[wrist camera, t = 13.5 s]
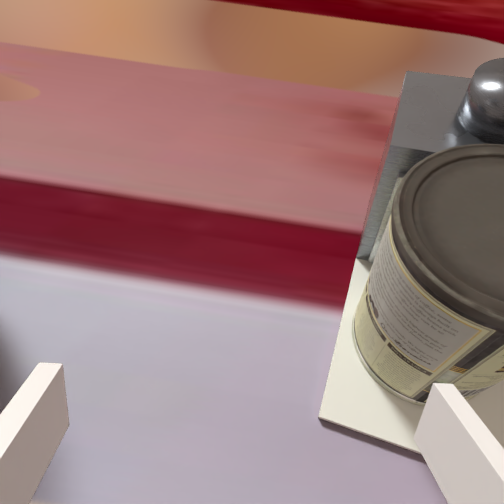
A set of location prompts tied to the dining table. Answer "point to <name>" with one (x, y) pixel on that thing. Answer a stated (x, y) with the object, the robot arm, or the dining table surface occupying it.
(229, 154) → the dining table surface
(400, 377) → the coffee can
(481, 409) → the mount pad
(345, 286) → the dining table surface
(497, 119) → the motor block
